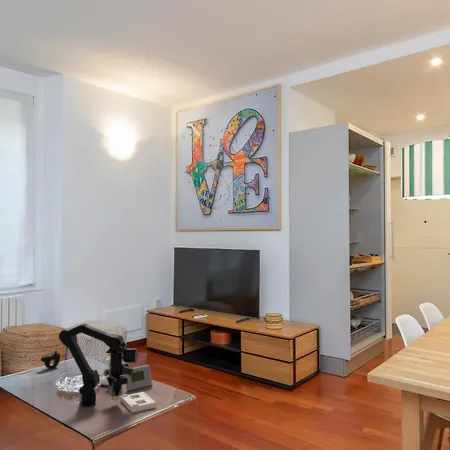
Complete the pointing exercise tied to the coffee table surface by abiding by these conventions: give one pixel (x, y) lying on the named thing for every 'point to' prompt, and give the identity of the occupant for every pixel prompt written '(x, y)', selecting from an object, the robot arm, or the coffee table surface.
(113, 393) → the plug
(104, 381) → the flower in vase
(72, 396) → the coffee table surface
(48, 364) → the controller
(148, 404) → the socket
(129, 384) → the digital clock
